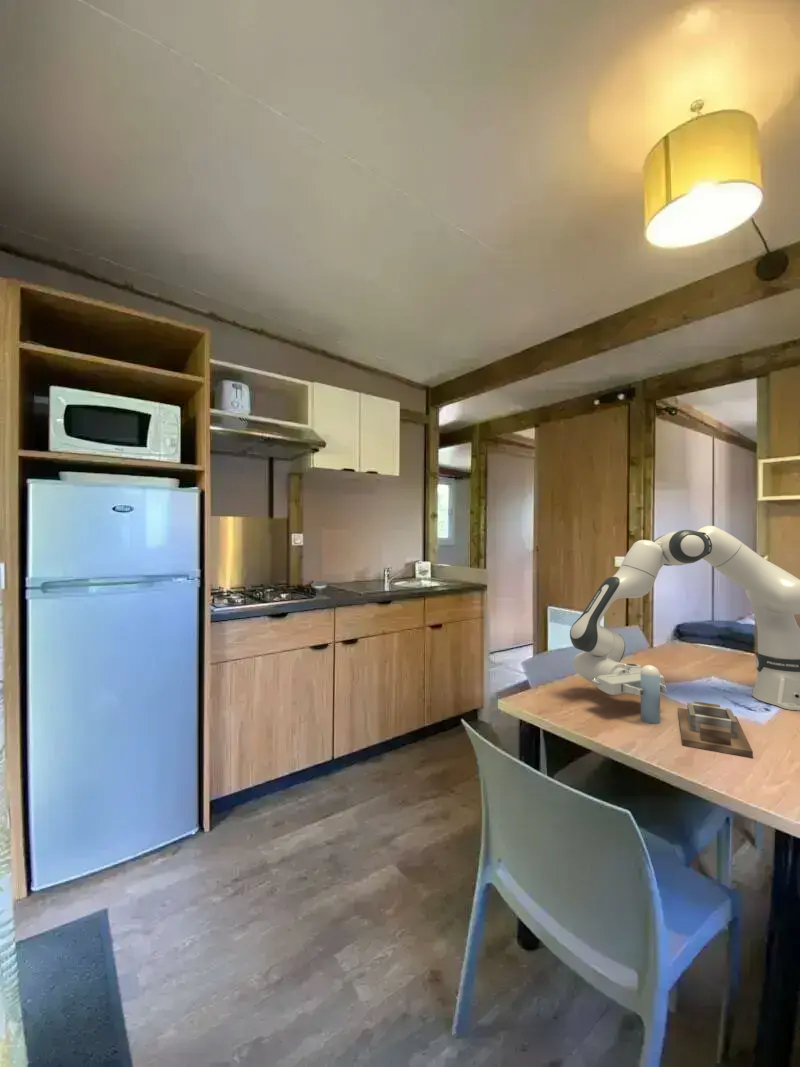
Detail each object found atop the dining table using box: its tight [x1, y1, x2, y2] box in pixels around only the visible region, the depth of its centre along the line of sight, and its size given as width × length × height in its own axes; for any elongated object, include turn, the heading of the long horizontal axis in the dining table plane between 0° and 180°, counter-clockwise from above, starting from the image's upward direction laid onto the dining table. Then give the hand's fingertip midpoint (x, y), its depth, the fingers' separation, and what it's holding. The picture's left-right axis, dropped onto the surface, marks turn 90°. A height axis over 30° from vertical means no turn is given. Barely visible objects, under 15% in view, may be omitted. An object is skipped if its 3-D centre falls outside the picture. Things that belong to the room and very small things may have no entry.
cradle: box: [677, 701, 754, 759], centre depth 121 cm, size 14×24×6 cm, turn 151°
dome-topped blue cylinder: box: [640, 664, 661, 725], centre depth 130 cm, size 5×5×15 cm
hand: (652, 690), depth 129 cm, fingers open, 7 cm apart
